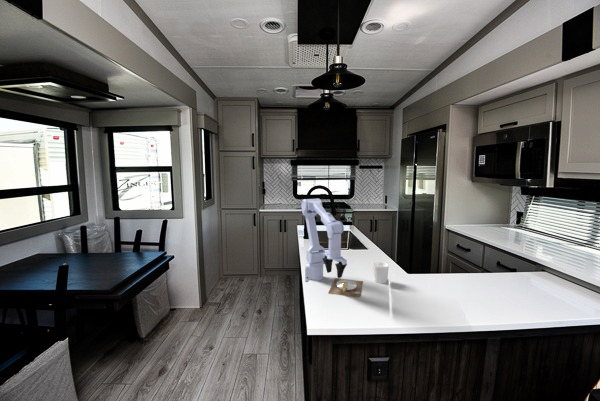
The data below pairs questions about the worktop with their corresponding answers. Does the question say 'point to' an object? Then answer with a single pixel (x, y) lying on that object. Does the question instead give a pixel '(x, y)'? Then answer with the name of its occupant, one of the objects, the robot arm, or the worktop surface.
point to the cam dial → (346, 285)
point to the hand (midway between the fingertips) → (334, 274)
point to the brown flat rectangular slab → (349, 293)
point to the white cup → (380, 272)
